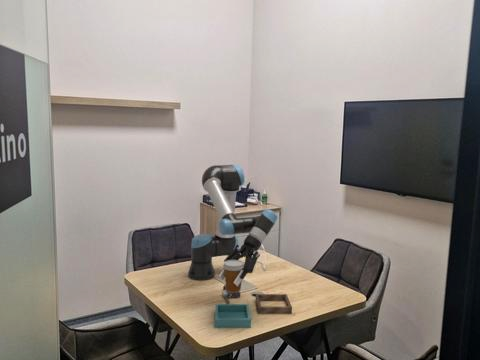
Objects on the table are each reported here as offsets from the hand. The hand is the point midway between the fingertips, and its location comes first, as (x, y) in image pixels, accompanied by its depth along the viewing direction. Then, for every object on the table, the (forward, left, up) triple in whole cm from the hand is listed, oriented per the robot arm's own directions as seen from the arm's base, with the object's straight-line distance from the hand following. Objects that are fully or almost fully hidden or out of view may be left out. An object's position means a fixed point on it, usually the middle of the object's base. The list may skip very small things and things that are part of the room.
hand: (228, 281), depth 179 cm
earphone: (+18, +72, -19) cm, 77 cm away
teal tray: (+2, +2, -19) cm, 19 cm away
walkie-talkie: (+3, +28, -19) cm, 34 cm away
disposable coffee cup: (+2, +2, -5) cm, 6 cm away
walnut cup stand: (+22, +15, -19) cm, 33 cm away
